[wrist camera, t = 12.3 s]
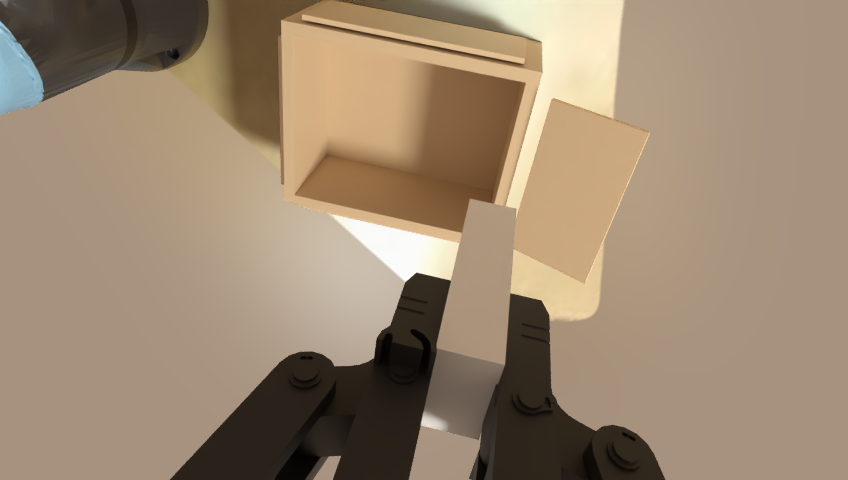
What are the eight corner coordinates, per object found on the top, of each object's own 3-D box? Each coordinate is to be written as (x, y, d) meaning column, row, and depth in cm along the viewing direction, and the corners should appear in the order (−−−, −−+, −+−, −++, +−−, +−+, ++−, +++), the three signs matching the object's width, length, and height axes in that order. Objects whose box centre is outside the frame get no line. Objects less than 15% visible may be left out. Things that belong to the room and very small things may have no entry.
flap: (584, 283, 44) (586, 281, 44) (648, 133, 36) (650, 131, 36) (508, 246, 47) (510, 243, 47) (551, 99, 39) (554, 98, 39)
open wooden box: (315, 162, 59) (279, 205, 51) (318, -9, 48) (273, 10, 40) (498, 203, 57) (492, 253, 49) (543, 35, 47) (544, 64, 39)
